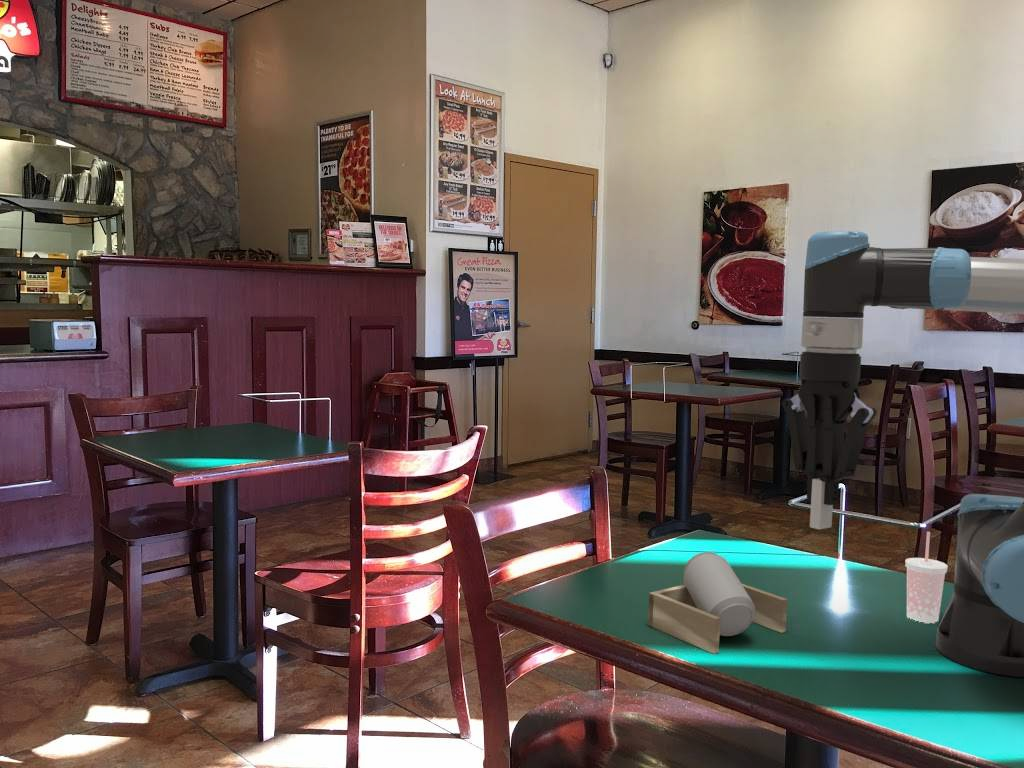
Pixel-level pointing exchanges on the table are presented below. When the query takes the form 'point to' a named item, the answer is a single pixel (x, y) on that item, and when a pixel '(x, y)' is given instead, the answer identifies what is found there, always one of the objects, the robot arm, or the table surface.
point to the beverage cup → (924, 587)
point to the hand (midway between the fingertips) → (820, 526)
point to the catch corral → (708, 615)
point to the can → (719, 592)
